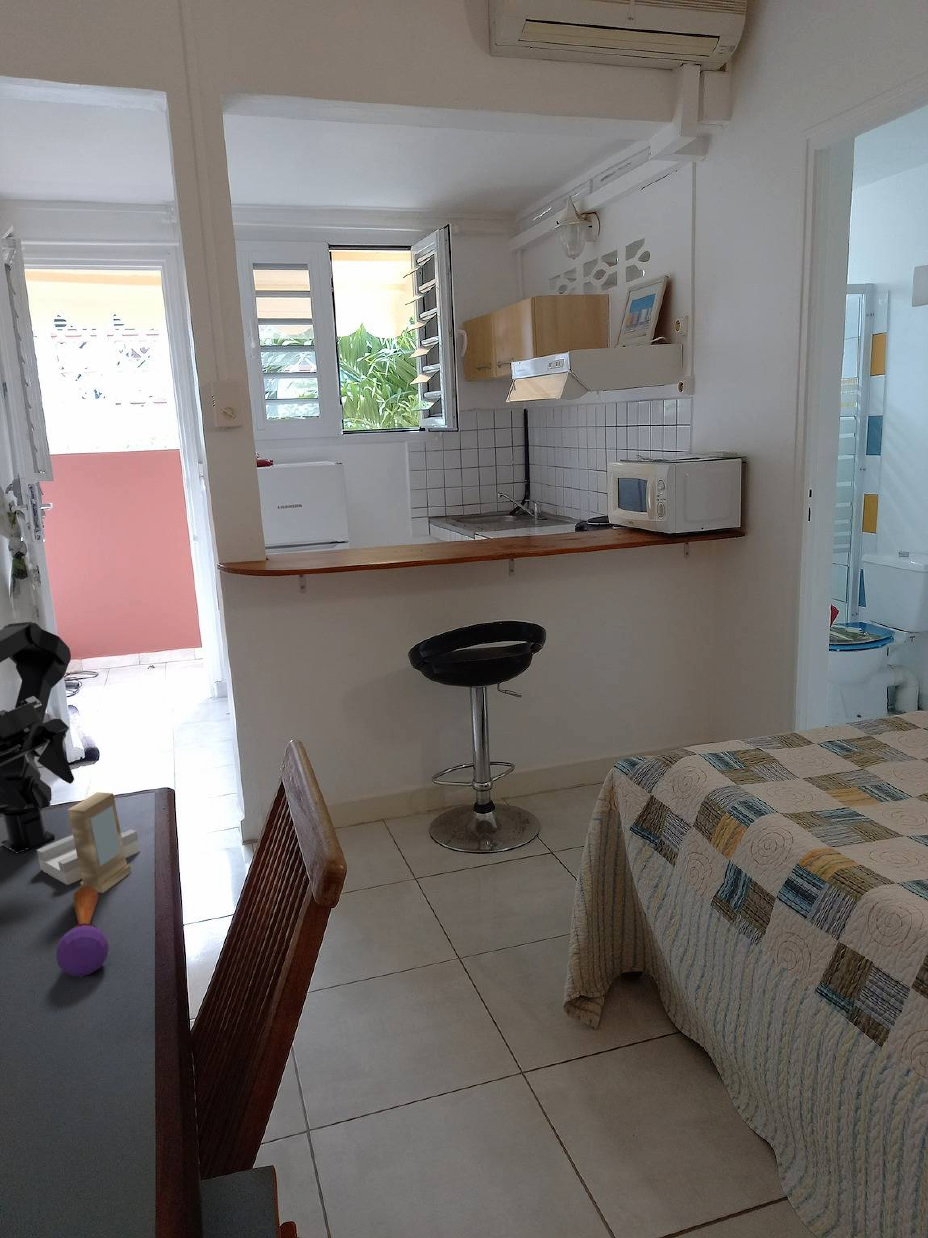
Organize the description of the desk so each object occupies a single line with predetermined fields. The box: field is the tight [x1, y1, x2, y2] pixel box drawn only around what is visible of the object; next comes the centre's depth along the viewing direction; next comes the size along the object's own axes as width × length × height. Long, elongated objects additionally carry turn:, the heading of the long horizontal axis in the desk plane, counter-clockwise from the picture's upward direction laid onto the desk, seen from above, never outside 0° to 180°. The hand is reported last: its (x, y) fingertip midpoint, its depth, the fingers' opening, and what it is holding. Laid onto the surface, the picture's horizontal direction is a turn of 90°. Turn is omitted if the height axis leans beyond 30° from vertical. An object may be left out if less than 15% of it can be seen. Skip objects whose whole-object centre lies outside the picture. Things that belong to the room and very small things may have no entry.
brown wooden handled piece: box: [55, 886, 110, 977], centre depth 115 cm, size 6×6×20 cm
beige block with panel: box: [67, 791, 132, 894], centre depth 130 cm, size 4×6×13 cm, turn 160°
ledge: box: [36, 828, 141, 886], centre depth 138 cm, size 9×12×4 cm
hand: (49, 794), depth 131 cm, fingers open, 9 cm apart
